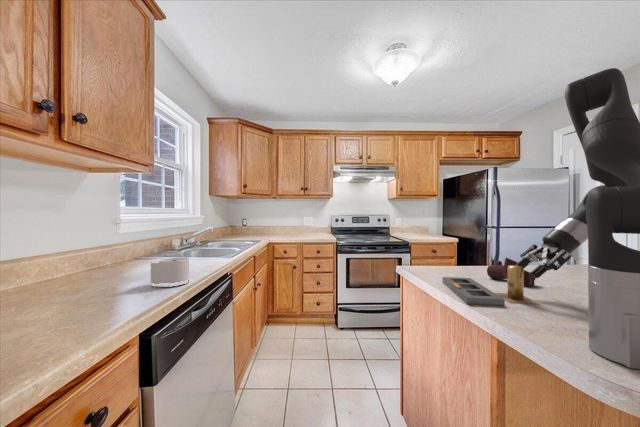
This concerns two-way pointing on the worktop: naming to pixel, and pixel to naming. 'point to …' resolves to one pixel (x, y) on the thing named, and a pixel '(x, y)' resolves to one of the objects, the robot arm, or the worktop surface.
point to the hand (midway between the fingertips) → (524, 272)
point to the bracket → (502, 272)
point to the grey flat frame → (473, 292)
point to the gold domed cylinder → (515, 282)
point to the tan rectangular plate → (525, 301)
